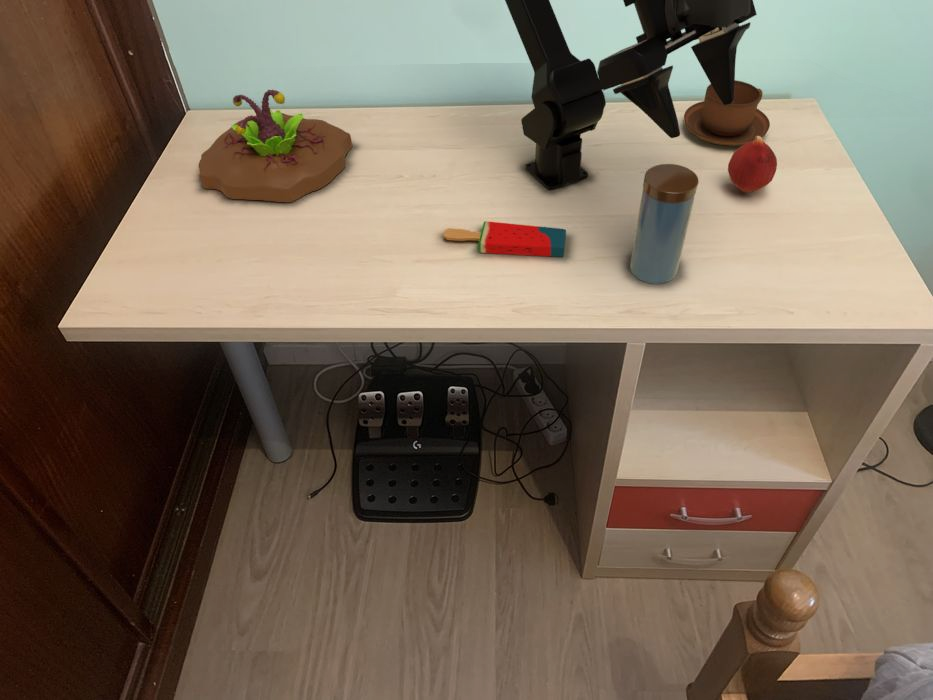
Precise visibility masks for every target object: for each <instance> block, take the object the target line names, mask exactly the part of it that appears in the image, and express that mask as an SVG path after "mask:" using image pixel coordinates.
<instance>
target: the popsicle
mask: <svg viewBox="0 0 933 700" xmlns="http://www.w3.org/2000/svg"><path fill="white" fill-rule="evenodd" d="M566 235H567V230H566V229H565V228H559V227H549V226H539V225H538V226H537V225H530V224H529V225H528V224H520V223H519V224H517V223H508V222H507V223H506V222H498V221H487V220H486V221H484V222H483V224H482V228H481V231H473V230H472V231H471V230H468V229H462V228H446V229H444V232H443V234H442V236H443V237H442V238H443V239H444V240H447V241H456V242H457V241H459V242H464V241H478V253H482V254H483V253H484V254H499V255H501V254H502V255H518V256H534V257H535V256H538V257H554V258H563V257H564V254H565V246H566V237H567V236H566Z"/></svg>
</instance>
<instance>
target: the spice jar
mask: <svg viewBox="0 0 933 700" xmlns="http://www.w3.org/2000/svg"><path fill="white" fill-rule="evenodd" d="M698 186H699V177H698V176H697V174H696V173H695V171H693V170H691V169H690V168H689V167H686V166H683V165H680V164H675V163H661V164H657V165H654V166H652V167H650V168H648V169H647V170H646V172H645V173H644V177H643V183H642V192H641V198H640V203H639V210H638V216H637V220H636V222H637V223H636V227H635V234H634V239H633V245H632V251H631V252H632V253H631V258H630V263H629V269H630V272H631V274H632V275H633V276H634V277H635V278H636V279H638V280H640V281H641V282H644V283H648V284H653V285H659V284H665V283H669V282H670V281H672V280H674V278H675V277H676V276H677V274H678V271H679V266H680V261H681V258H682V252H683V249H684V244H685V239H686V235H687V231H688V227H689V222H690V219H691V214H692V210H693V206H694V201H695V197H696V194H697V190H698Z"/></svg>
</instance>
